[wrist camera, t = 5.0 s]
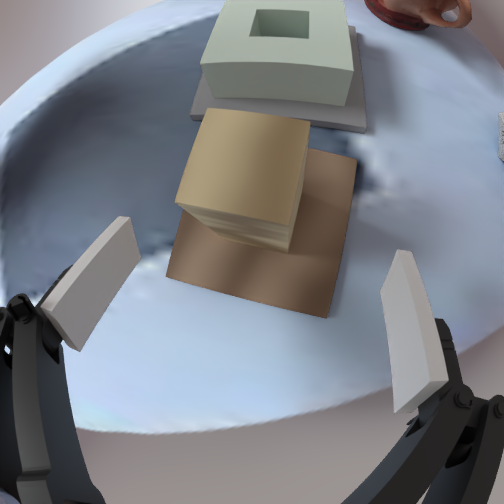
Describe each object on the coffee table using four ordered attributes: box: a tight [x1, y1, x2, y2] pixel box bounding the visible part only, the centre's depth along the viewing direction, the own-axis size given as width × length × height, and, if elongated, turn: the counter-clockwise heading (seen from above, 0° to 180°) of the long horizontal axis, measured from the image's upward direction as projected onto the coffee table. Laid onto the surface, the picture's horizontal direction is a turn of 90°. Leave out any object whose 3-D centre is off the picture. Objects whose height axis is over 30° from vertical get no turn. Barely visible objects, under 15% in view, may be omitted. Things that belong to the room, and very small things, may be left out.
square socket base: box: [189, 0, 367, 133], centre depth 21 cm, size 16×16×6 cm
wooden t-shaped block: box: [166, 108, 357, 318], centre depth 17 cm, size 13×13×11 cm
